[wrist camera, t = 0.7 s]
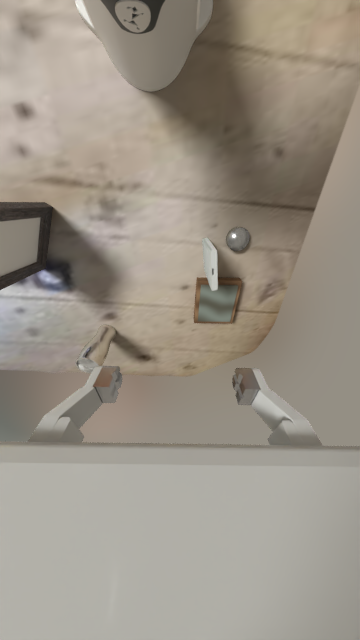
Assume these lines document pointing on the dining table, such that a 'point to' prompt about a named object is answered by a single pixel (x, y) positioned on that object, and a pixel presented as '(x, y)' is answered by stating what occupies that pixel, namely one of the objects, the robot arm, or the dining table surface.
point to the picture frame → (23, 239)
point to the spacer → (237, 238)
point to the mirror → (216, 300)
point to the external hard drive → (210, 263)
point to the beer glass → (96, 349)
